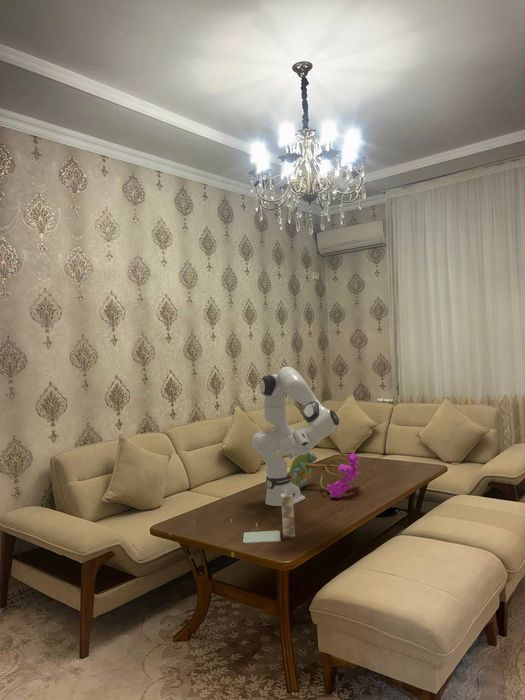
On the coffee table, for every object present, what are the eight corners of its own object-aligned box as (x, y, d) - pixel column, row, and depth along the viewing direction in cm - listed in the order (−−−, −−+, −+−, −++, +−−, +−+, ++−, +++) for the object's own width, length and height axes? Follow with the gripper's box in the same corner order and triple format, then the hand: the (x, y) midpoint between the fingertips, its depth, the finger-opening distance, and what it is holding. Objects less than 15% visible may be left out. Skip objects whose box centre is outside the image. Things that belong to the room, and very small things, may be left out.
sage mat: (279, 531, 236) (279, 530, 236) (280, 541, 224) (280, 540, 224) (244, 533, 236) (243, 532, 236) (243, 543, 224) (243, 542, 224)
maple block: (294, 533, 232) (292, 493, 232) (295, 537, 227) (292, 496, 227) (283, 534, 232) (280, 493, 232) (283, 538, 227) (281, 497, 227)
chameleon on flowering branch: (311, 434, 311) (366, 446, 291) (313, 476, 319) (367, 490, 300) (284, 457, 287) (342, 471, 268) (288, 501, 296) (344, 519, 276)
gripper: (314, 435, 238) (292, 452, 242) (293, 429, 222) (269, 448, 225) (321, 446, 235) (298, 464, 239) (300, 442, 218) (276, 461, 222)
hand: (284, 456), depth 232 cm, fingers open, 8 cm apart
